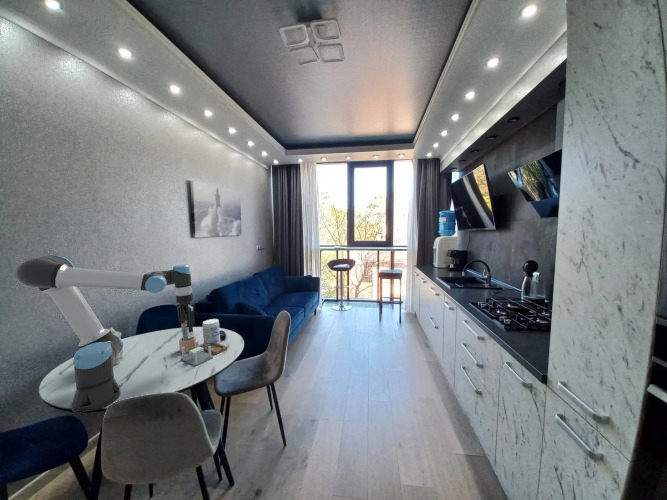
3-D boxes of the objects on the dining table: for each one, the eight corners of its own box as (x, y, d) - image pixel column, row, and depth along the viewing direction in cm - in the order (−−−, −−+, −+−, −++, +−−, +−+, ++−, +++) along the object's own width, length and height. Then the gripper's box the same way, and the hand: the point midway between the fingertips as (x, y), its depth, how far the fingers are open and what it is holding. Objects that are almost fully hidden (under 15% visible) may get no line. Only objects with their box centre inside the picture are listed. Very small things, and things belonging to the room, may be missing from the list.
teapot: (104, 374, 128) (101, 338, 126) (81, 371, 131) (77, 336, 129) (135, 358, 144) (133, 326, 142) (114, 355, 147) (111, 324, 145)
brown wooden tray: (215, 354, 146) (215, 352, 146) (203, 350, 152) (202, 347, 152) (227, 349, 153) (227, 346, 153) (215, 344, 159) (214, 342, 159)
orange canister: (185, 353, 148) (184, 337, 147) (177, 350, 152) (176, 334, 151) (198, 348, 155) (197, 332, 154) (190, 345, 159) (189, 330, 158)
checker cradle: (195, 366, 134) (194, 353, 134) (181, 359, 141) (180, 347, 141) (212, 358, 143) (212, 346, 142) (198, 352, 150) (197, 340, 149)
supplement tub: (215, 346, 157) (213, 324, 156) (200, 347, 158) (198, 324, 156) (223, 340, 167) (221, 318, 165) (209, 340, 167) (207, 318, 166)
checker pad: (193, 355, 138) (193, 352, 138) (189, 353, 140) (189, 350, 140) (203, 350, 143) (203, 348, 143) (199, 349, 145) (199, 346, 145)
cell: (186, 341, 132) (184, 323, 131) (181, 339, 134) (179, 321, 133) (194, 338, 136) (193, 320, 135) (190, 336, 138) (188, 318, 137)
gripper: (200, 294, 131) (204, 337, 133) (182, 290, 141) (186, 330, 143) (185, 297, 125) (189, 343, 127) (168, 293, 134) (172, 335, 137)
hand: (188, 336), depth 135 cm, fingers closed on cell, 5 cm apart
